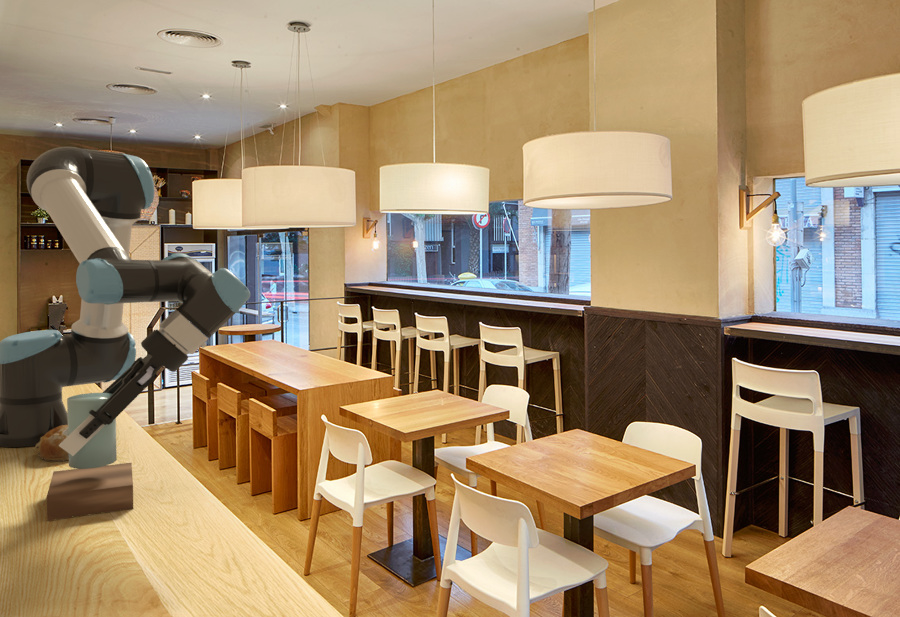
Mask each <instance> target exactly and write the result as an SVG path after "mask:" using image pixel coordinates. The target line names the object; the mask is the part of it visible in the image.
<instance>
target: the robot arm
mask: <svg viewBox="0 0 900 617" xmlns="http://www.w3.org/2000/svg"><path fill="white" fill-rule="evenodd" d="M153 179H154V177H153V174H152V172H151V169H150V167H149V165H148V163H146V162H145V160H143V159H142V158H140V157H139V156H136V155H132V154H131V155H130V154H126V153H123V152H115V151H105V150H98V149H97V150H96V149H88V148H80V147H77V146H76V147H75V146H60V147H59V146H58V147H55V148H52V149H49V150H46V151H45V152H43V153H41V154H40V155H39V156H38V157H36V158H35V160H33V162H31V165H30V166H29V168H28V172H27V175H26V186H27V191H28V192H29V195H30V198H32V200H33V202H34V203H35V205H36V206H38V207H39V208H40V209H42V210H43V211H46V212H47V213H48V215H49V216H50V218H51V220H52V221H53V223H54V225H55V227H56V228H57V229H58V231H59V232H60V235H61V236H62V237H63V239H64V241H65V242H66V244H67V246H68V247H69V249H70V250H71V253H72V254H73V256H74V257H75V259H76V260H77V262H78V263H79V265H78V267H77V270H76V276H75V277H76V278H75V282H76V287H77V291H78V295H79V297H80V299H81V302H80V303H81V304H80V314H79V315H80V316H79V319H78V320H76V321H75V322H73V323H72V324H71V326H70V327H71V330H70V335H67V334H66V335H62V333H61V331H59V330H57V329H44V330H33V331H27V332H26V331H25V332H22V333H18V334H17V333H16V334H12V335H9V336H6V337H5V338H3V339H1V340H0V447H4V448H23V447H24V448H25V447H33V446H36V444H37V443H39V442H40V440H41V439H40V438H41V437H43V436H44V435H45V434H46V433H47V432H49V431H50V430H52V429H54V428H56V427H58V426H62V425H68V416H67V408H66V406H65V404H64V402H63V388H65V387H74V386H80V385H83V386H84V385H89V384H98V383H111V382H112V383H111V384H110V385H109V386H108V387H107V388H105V389H104V390H103V391H102V392H101V393H111V394H112V395H111V396H110V397H109V398H108V400H107V401H106V402H105V403H104V404H103V405H102V406H101V407H100V408H99V409H98V410H97V411H94V410H90V412H89V413H90V414H91V415H90V416H89V417H88V418H87V419H85V420H84V421H83V422H82V423H81V424H80V425H79V426H78V427H77V428H76V429H75V430H74V431H73V432H72V433H71V434H70V435H69V436H68V428H67V429H66V430H65V431H63V434H64V435H65V436H67V438H66V439H64V440H63V441H62V442H61V443H60V444H59V446H60V447H61V448H62V449H64V450H65V451H66V452H68V453H69V454H71V455H72V456H74V455H75V454H76V453H77V452H78V451H79V450H80V449H81V448H82V447H83V446H84V445H85V444H86V443H87V442H88V441H89V440H90V439H91V438H92V437H93V436H94V435H96V434H97V433H98V432H99V431H100V430H101V429H102V428H103V427H104V426H105V425H106V424H108V425H109V424H111V423H112V422H113V420H114V419H115V418H117V417H118V416H119V415H121V413H123V412H124V410H125V409H126V408H127V407H128V406H130V404H132V402H134V401H135V399H136V398H138V397H139V395H140V394H141V393H142V392H144V391H145V389H146V388H148V387H149V385H151V384H152V383H154V382H155V380H156V379H157V377H158V374H157V372H158V371H159V370H161V368H162V367H164V368H166V369H167V370H168V371H170V372H172V373H174V372H176V371H177V370H179V368H181V367H182V366H183V365H184V364H185V363H186V362H187V360H189V354H190V355H193V354H194V353H196V352H197V350H199V349H200V347H201V348H203V349H205V348H206V346H207V343H206V342H207V341H208V340H209V339H210V338H211V337H212V336H214V335H215V333H216V332H217V331H218V330H220V329H221V328H222V327H223V326H224V325H225V324H226V323H227V322H228V321H229V320H230V319H231V318H232V317H234V315H235V314H237V313H239V311H240V309H241V308H242V307H243V306H244V305H245V303H246V302H247V301H248V300H249V299H250V298H251V291H250V290H249V288H248V286H247V285H245V284H244V282H243V281H242V280H241V279H240V278H238V277H237V276H236V275H235V274H234V273H233V272H232V271H230V270H229V269H228V268H225V267H221V268H219V269H218V270H216V271H215V272H213V273H212V272H211V271H210V270H209V269H208V268H207V267H205V266H204V265H203V264H202V263H201V262H200V261H198V260H197V259H195V258H193V257H191V256H190V255H188V254H186V253H182V252H177V253H173V254H170V255H168V256H165V257H164V258H163V259H162V260H160V259H159V260H157V259H154V260H153V259H152V260H151V259H132V258H131V257H130V256H129V255H130V246H131V239H132V238H131V237H132V229H133V228H132V227H133V225H134V224H135V223H136V222H138V221H139V220H140V219H141V214H142V210H143V211H144V210H147V209H149V208H150V207H151V206H152V204H153V203H154V199H155V184H154V182H155V181H154V180H153ZM156 302H157V303H159V302H181V304H180V305H179V306H178V307H177V308H176V309H174V310H173V311H172V312H171V313H170V314H169V315H168V316H166V318H165V319H163V320H162V322H160V324H159V329H153V331H151V332H150V334H148V335H147V336H146V337H145V338H144V339H143V340H142V341H141V342H140V344H141V345H140V346H141V347H142V348H143V350H145V351H146V353H147V355H145V356H144V357H143V358H142V356H139V357H138V358H137V359H136V356H137V348H136V340H135V338H134V335H133V334H132V333H130V332H129V328H128V327H127V325H126V324H125V323H123V313H124V304H132V303H133V304H134V303H135V304H136V303H156ZM105 412H106V413H105ZM107 413H108V414H109V415H108V414H107Z"/></svg>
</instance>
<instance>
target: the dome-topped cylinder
mask: <svg viewBox="0 0 900 617" xmlns="http://www.w3.org/2000/svg"><path fill="white" fill-rule="evenodd" d="M111 395H112V394H111V393H102V392H87V393H81V394H80V393H79V394H76V395H72V396H69V397H68V398H67V399H66V405H67V406H66V411H67V416H68V436H69V435H70V434H71V433H72V432H73V431H74V430H75V429H76V428H77V427H78V426H79V425H80V424H81V423H82V422H83V421H84V420H85V419H87V418H88V417H89V416H90V415H91V414H90V413H89V412H90V410H94V411H97V410H98V409H99V408H100V407H101V406H102V405H103V404H104V403H105V402H106V401H107V400H108V398H109V397H110V396H111ZM105 413H106V412H105ZM107 414H108V413H107ZM108 415H109V414H108ZM116 418H117V417H116ZM116 418H115V419H114V420H113V422H112V423H111V424H109V425H108V424H106V425H105V426H104V427H103V428H102V429H101V430H100V431H99V432H98V433H97V434H96V435H94V436H93V437H92V438H91V439H90V440H89V441H88V442H87V443H86V444H85V445H84V446H83V447H82V448H81V449H80V450H79V451H78V452H77V453H76V454H75V455H74V456H72V455H71V454H69V453H68V454H69V461H68V466H69V467H70V468H71V469H90V468H97V467H102V466H106V465H113V463H115V462H116V461H117V458H118V457H117V453H118V452H117V419H116Z"/></svg>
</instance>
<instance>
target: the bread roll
mask: <svg viewBox="0 0 900 617" xmlns="http://www.w3.org/2000/svg"><path fill="white" fill-rule="evenodd" d="M67 428H68V425H62V426H58V427H56V428H54V429H52V430H50V431H49V432H47V433H46V434H45V435H44V436H43V437H41V438H40V439H41V440H40V442H39V443H37V444H36V445H34V446H35V447H34V448H35V449H38V452H37V456H39V458H40V459H41V460H44V461H46V462H66V461H67V462H69V461H68V460H69V454H68V452H66V451H65V450H64V449H62V448H61V447H60V446H59V444H60V443H61V442H62V441H63V440H64V439H66V438H67V436H65V435H64V434H63V431H65V430H66V429H67Z"/></svg>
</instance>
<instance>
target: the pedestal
mask: <svg viewBox="0 0 900 617" xmlns="http://www.w3.org/2000/svg"><path fill="white" fill-rule="evenodd" d="M133 480H134V478H133V465H132V462H126V463H125V462H123V463H118V464H116V463H115V464H109V465H106V466H102V467H97V468H90V469H76V468H71V469H64V470H55V471H54V470H53V472H52V476H51V479H50V483H49V487H48V491H47V493H46V494H47V495H46V515H47V516H46V517H47V518H46V519H47V520H46V521H47V522H49V520H50V521H56V520H55V519H57V520H62V518H64V519H69V517H71V518H73V517H72V516H78V517H82V516H81V515H85V516H89V515H88V514H92V515H95V514H94V513H99V514H102V513H101V512H105V513H111V512H119V511H124V510H125V511H126V510H132V509H134V481H133Z"/></svg>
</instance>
